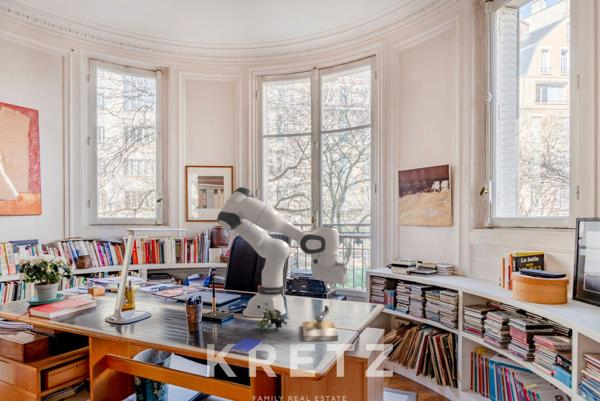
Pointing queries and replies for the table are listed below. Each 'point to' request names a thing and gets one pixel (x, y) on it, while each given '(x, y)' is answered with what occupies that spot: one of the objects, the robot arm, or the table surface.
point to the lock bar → (322, 314)
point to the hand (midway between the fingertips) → (329, 291)
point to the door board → (319, 331)
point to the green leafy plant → (271, 319)
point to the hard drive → (246, 345)
